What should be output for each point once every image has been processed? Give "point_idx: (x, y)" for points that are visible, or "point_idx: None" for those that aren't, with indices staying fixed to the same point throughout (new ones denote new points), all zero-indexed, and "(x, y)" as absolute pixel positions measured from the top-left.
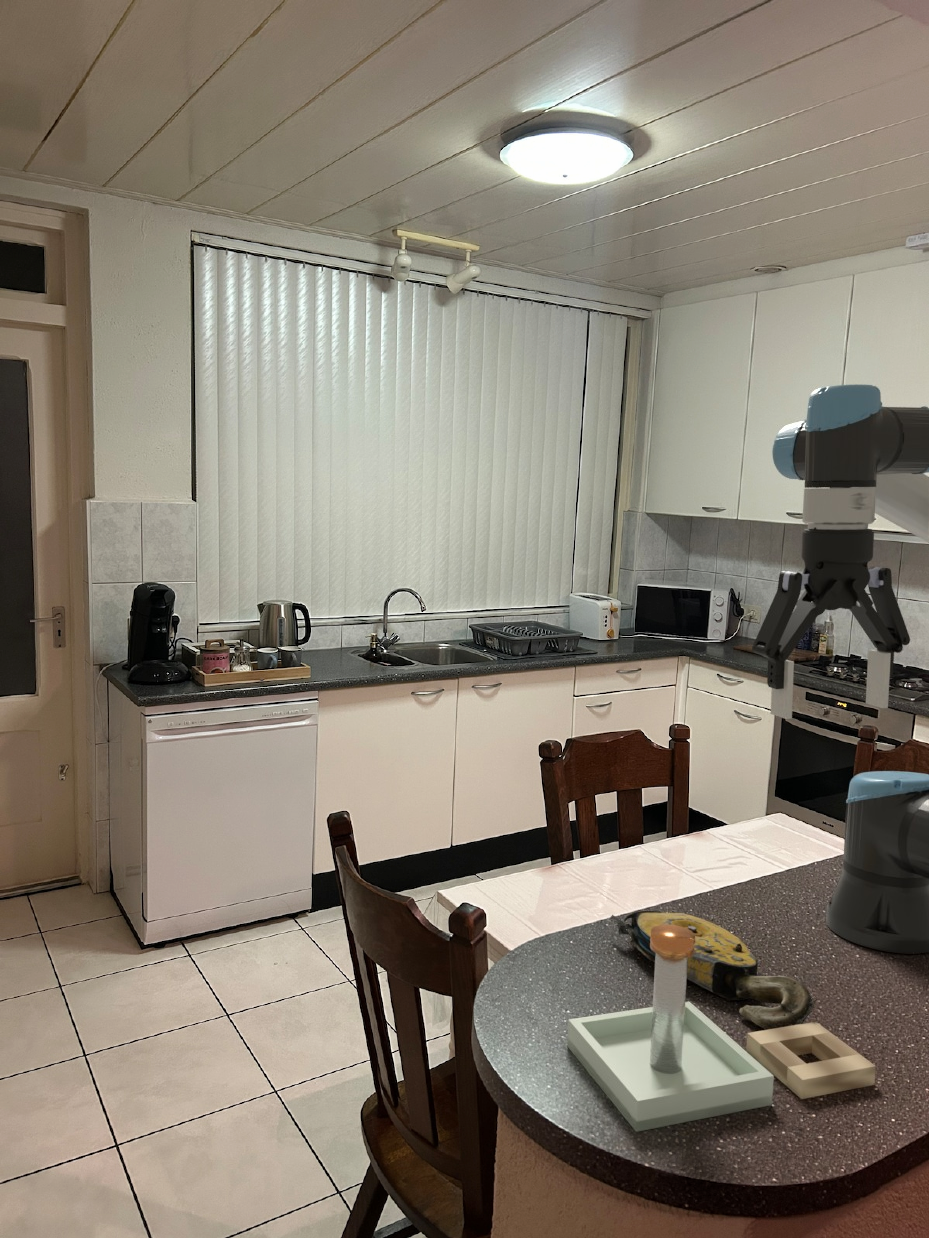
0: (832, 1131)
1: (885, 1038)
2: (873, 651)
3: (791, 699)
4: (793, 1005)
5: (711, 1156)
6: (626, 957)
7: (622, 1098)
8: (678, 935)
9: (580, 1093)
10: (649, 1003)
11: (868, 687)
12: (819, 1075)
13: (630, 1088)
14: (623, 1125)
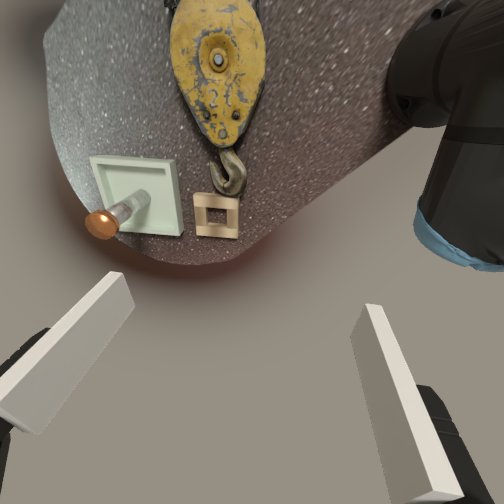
0: (198, 249)
1: (277, 207)
2: (416, 493)
3: (110, 337)
4: (228, 190)
5: (145, 244)
6: None
7: None
8: (102, 230)
9: None
10: (162, 124)
11: (375, 343)
12: (206, 235)
13: None
14: None
